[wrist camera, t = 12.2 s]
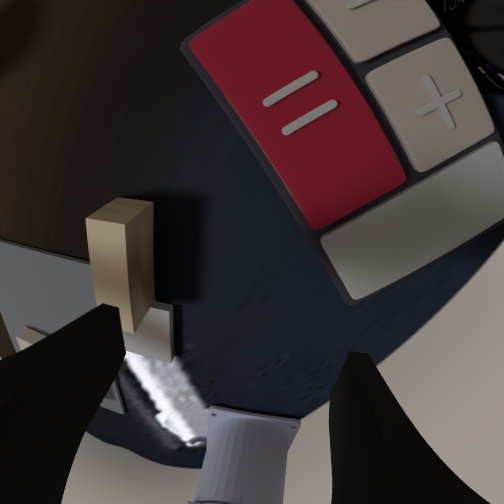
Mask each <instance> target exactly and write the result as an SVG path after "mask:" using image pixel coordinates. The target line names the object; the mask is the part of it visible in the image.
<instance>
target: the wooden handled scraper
mask: <svg viewBox="0 0 504 504" xmlns="http://www.w3.org/2000/svg"><path fill="white" fill-rule="evenodd" d="M86 227H87V238H88V247H89V256H90V264H91V272H92V279H93V285H94V292H95V298H96V303H97V306H99V305H101V304H102V303H104V304H108V305H112V306H115V307H119V311H120V318H121V325H122V331H123V338H124V344H125V349H126V351H129V352H132V353H136V354H139V355H143V356H146V357H150V358H154V359H157V360H161V361H165V362H169V363H172V361H173V358H174V333H173V305H170V304H166V303H161V302H157V301H155V289H154V256H153V202H149V201H141V200H134V199H127V198H119V197H118V198H116V199H115V200H113V201H112V202H110V203H108V204H107V205H105V206H104V207H102V208H101V209H99V210H97V211H96V212H94V213H93V214H91V215H90V216H88V217H87V218H86Z"/></svg>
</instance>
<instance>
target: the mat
mask: <svg viewBox="0 0 504 504" xmlns="http://www.w3.org/2000/svg"><path fill="white" fill-rule="evenodd" d="M95 307H97V303H96V298H95V292H94V285H93V279H92V272H91V264H90V261H86V260H81V259H77V258H73V257H69V256H65V255H61V254H57V253H53V252H49V251H45V250H41V249H37V248H33V247H29V246H25V245H21V244H17V243H14V242H10V241H6V240H3V239H0V312H1V314H2V317H3V320H4V323H5V325H6V328H7V330H8V333H9V335H10V338H11V340H12V343H13V345H14V347H15V350H16V352H19V351H21V349H20V346H19V344H18V341H17V339H16V335H17V334H18V333H19V332H20V331H21V329H22V328H23V327H24V326H25V327H27V328H29V329H31V330H34V331H36V332H38V333H41V334H43V335H46V336H49V335H50V334H52V333H54V332H55V331H57V330H59V329H60V328H62V327H64V326H65V325H67V324H69V323H70V322H72V321H74V320H75V319H77V318H78V317H80V316H82V315H83V314H85V313H87V312H88V311H90V310H92V309H93V308H95ZM100 406H102V407H104V408H107V409H110V410H113V411H115V412H118V413H121V414H124V413H125V409H124V406H123V402H122V399H121V395H120V392H119V388H118V384H117V381H116V378H115V380H114V382H113V384H112V385H111V387H110V389H109V391H108V392H107V394H106V396H105V398H104V399H103V401H102V403H101V404H100Z"/></svg>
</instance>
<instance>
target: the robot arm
mask: <svg viewBox="0 0 504 504" xmlns="http://www.w3.org/2000/svg"><path fill="white" fill-rule="evenodd" d="M125 355H126V349H125V344H124V338H123V331H122V325H121V318H120V311H119V307H115V306H112V305H108V304H104V303H102V304H101V305H99V306H97V307H95V308H93V309H92V310H90V311H88V312H87V313H85V314H83V315H82V316H80V317H78V318H77V319H75V320H74V321H72V322H70V323H69V324H67V325H65V326H64V327H62V328H60V329H59V330H57V331H55V332H54V333H52V334H50V335H49V336H47V337H45V338H43V339H41V340H40V341H38V342H36V343H34V344H32V345H31V346H29V347H27V348H25V349H23V350H21V351H19V352H17V353H15V354H13V355H11V356H8V357H6V358H4V359H2V360H0V504H61V501H62V498H63V493H64V490H65V486H66V482H67V479H68V476H69V473H70V470H71V467H72V464H73V461H74V458H75V455H76V453H77V450H78V447H79V445H80V442H81V440H82V437H83V435H84V433H85V431H86V429H87V427H88V425H89V424H90V422H91V420H92V418H93V417H94V415H95V413H96V411H97V410H98V408H99V406H100V404H101V403H102V401H103V399H104V398H105V396H106V394H107V392H108V391H109V389H110V387H111V385H112V384H113V382H114V380H115V378H116V376H117V374H118V372H119V369H120V367H121V364H122V362H123V359H124V357H125ZM300 422H301V421H300V420H298V419H292V418H285V417H277V416H270V415H264V414H257V413H251V412H245V411H240V410H234V409H229V408H224V407H219V406H210V408H209V414H208V433H207V451H206V454H205V458H204V462H203V466H202V470H201V474H200V477H199V481H198V485H197V489H196V492H195V496H194V500H193V502H190V501H189V502H187V504H283V495H284V485H285V474H286V462H287V451H288V449H289V447H290V445H291V444H292V442H293V440H294V438H295V435H296V433H297V431H298V429H299V427H300V424H301V423H300ZM329 433H330V448H331V465H332V502H331V504H490V503H489V502H487V501H486V500H485V499H483V498H482V497H481V496H480V495H478V494H477V493H476V492H475V491H473V490H472V489H471V488H470V487H468V486H467V485H466V484H465V483H464V482H463V481H462V480H461V479H460V478H459V477H458V476H457V475H456V474H455V473H454V472H453V471H452V470H451V469H450V468H449V467H448V466H447V465H446V464H445V463H444V462H443V461H442V460H441V459H440V458H439V457H438V455H437V454H436V453H435V452H434V451H433V449H432V448H431V447H430V446H429V445H428V443H427V442H426V441H425V440H424V438H423V437H422V436H421V435H420V433H419V432H418V430H417V429H416V428H415V426H414V425H413V423H412V422H411V421H410V419H409V418H408V417H407V415H406V414H405V412H404V411H403V409H402V407H401V406H400V404H399V403H398V401H397V400H396V398H395V397H394V395H393V393H392V392H391V390H390V389H389V387H388V385H387V384H386V382H385V380H384V379H383V377H382V376H381V374H380V372H379V371H378V369H377V367H376V366H375V364H374V362H373V361H372V359H371V358H370V356H369V354H367V353H358V352H349V354H348V356H347V358H346V361H345V363H344V365H343V367H342V369H341V372H340V374H339V376H338V378H337V380H336V382H335V384H334V386H333V389H332V391H331V393H330V406H329Z"/></svg>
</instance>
